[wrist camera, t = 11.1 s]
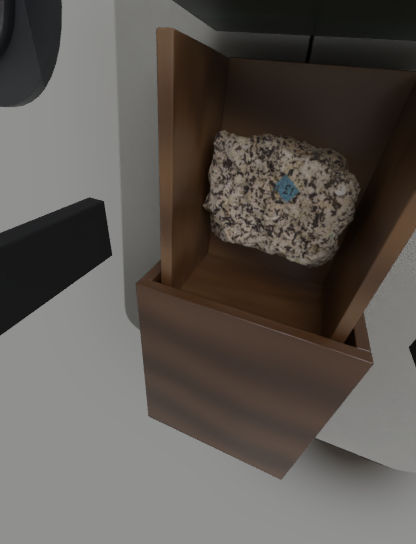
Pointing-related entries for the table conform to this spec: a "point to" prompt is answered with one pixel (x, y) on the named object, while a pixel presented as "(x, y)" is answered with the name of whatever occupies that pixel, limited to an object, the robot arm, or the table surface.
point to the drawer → (301, 126)
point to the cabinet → (242, 375)
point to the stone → (280, 196)
